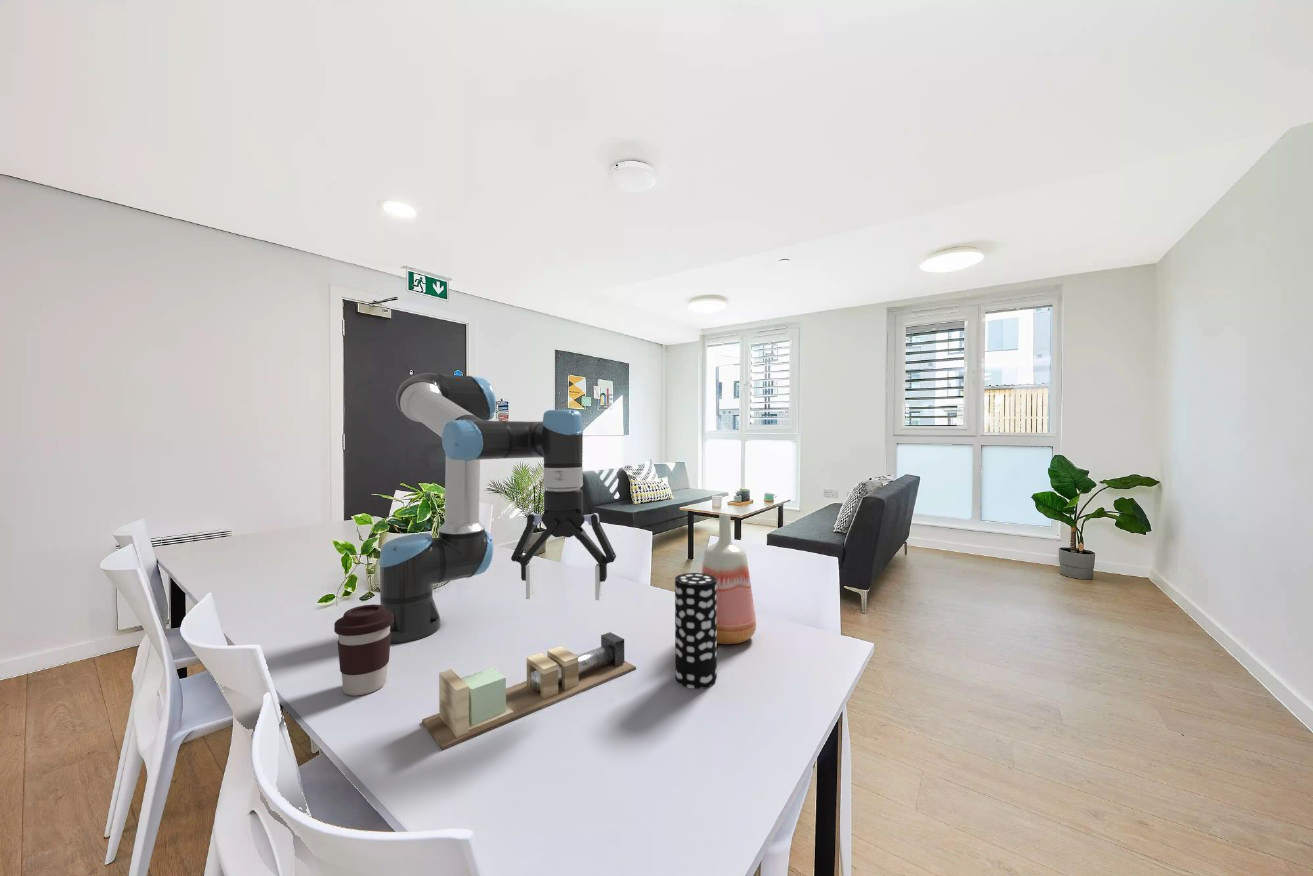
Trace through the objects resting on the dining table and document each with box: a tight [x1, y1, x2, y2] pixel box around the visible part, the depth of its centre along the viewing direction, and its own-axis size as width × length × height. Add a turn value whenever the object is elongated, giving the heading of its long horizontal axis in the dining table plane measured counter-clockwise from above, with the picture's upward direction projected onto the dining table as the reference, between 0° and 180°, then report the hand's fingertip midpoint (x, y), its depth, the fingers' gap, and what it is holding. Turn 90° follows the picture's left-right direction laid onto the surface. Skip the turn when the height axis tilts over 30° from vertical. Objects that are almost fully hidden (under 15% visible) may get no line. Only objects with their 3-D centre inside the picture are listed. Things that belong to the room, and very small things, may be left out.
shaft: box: [530, 632, 625, 691], centre depth 99 cm, size 5×19×5 cm, turn 132°
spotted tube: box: [674, 572, 718, 690], centre depth 98 cm, size 8×8×20 cm
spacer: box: [460, 667, 507, 725], centre depth 85 cm, size 5×6×6 cm
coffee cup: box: [333, 604, 394, 696], centre depth 95 cm, size 10×10×15 cm
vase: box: [701, 513, 757, 645], centre depth 118 cm, size 14×14×30 cm
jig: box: [421, 645, 637, 751], centre depth 93 cm, size 10×39×8 cm, turn 132°
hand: (564, 597), depth 96 cm, fingers open, 13 cm apart
